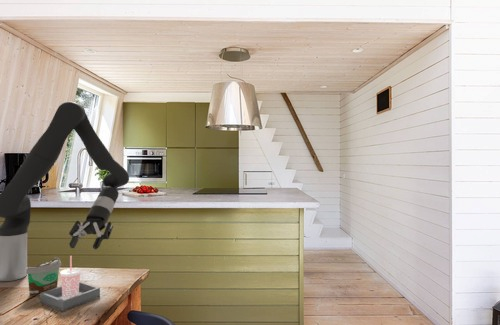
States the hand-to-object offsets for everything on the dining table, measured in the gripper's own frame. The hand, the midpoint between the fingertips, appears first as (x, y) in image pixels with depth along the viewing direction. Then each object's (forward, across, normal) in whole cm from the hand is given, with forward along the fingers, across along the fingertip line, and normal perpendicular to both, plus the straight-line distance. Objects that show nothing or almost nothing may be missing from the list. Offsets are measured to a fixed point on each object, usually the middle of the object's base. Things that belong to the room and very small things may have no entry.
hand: (83, 247), depth 112 cm
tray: (+16, 0, +6) cm, 17 cm away
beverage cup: (+15, 0, +6) cm, 16 cm away
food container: (+12, -12, +10) cm, 20 cm away
